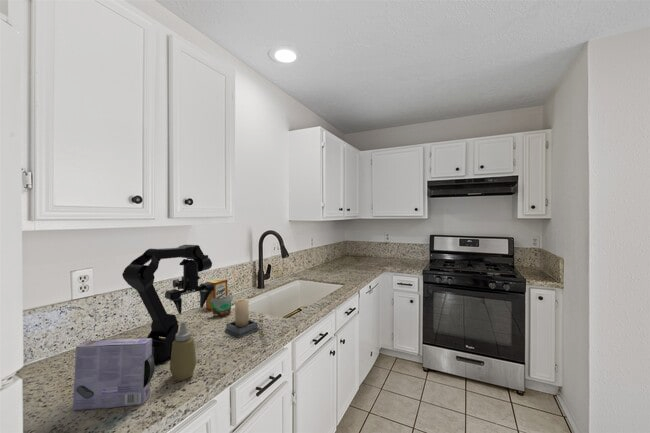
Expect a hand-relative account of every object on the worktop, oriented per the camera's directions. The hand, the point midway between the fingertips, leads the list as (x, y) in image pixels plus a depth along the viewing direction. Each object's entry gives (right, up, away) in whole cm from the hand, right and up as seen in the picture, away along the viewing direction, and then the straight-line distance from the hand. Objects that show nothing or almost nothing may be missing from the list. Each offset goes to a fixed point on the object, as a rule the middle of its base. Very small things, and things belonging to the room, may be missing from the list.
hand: (190, 310), depth 119 cm
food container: (+3, -13, +30) cm, 33 cm away
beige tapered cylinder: (+18, -12, +11) cm, 25 cm away
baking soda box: (-5, -13, +42) cm, 44 cm away
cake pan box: (-3, -14, -38) cm, 41 cm away
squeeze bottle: (+9, -14, -25) cm, 30 cm away
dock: (+19, -13, +11) cm, 25 cm away
